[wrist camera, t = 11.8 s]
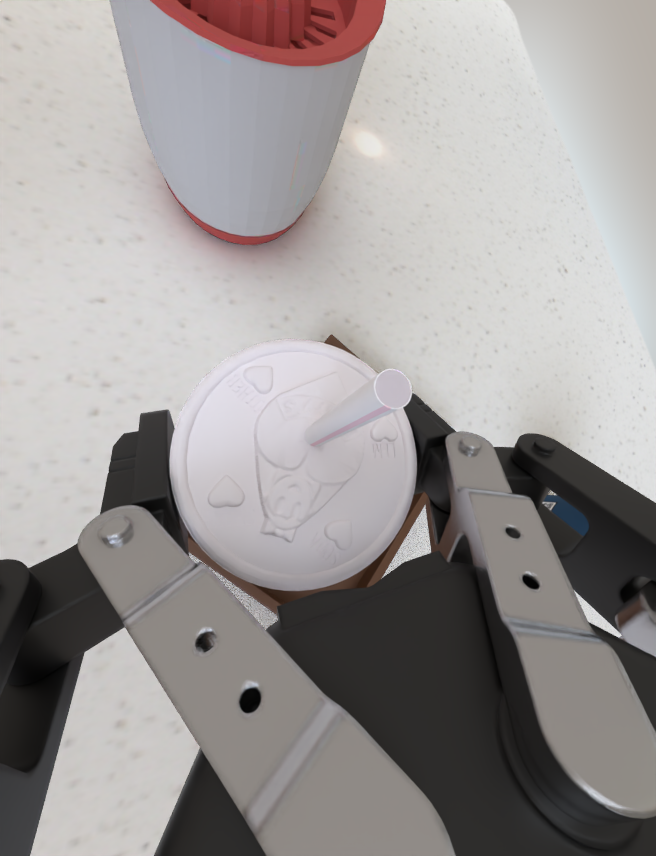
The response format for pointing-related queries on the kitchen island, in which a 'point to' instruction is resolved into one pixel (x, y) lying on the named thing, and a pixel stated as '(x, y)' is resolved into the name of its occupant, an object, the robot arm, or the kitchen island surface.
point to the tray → (359, 580)
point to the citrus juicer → (244, 100)
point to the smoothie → (294, 463)
